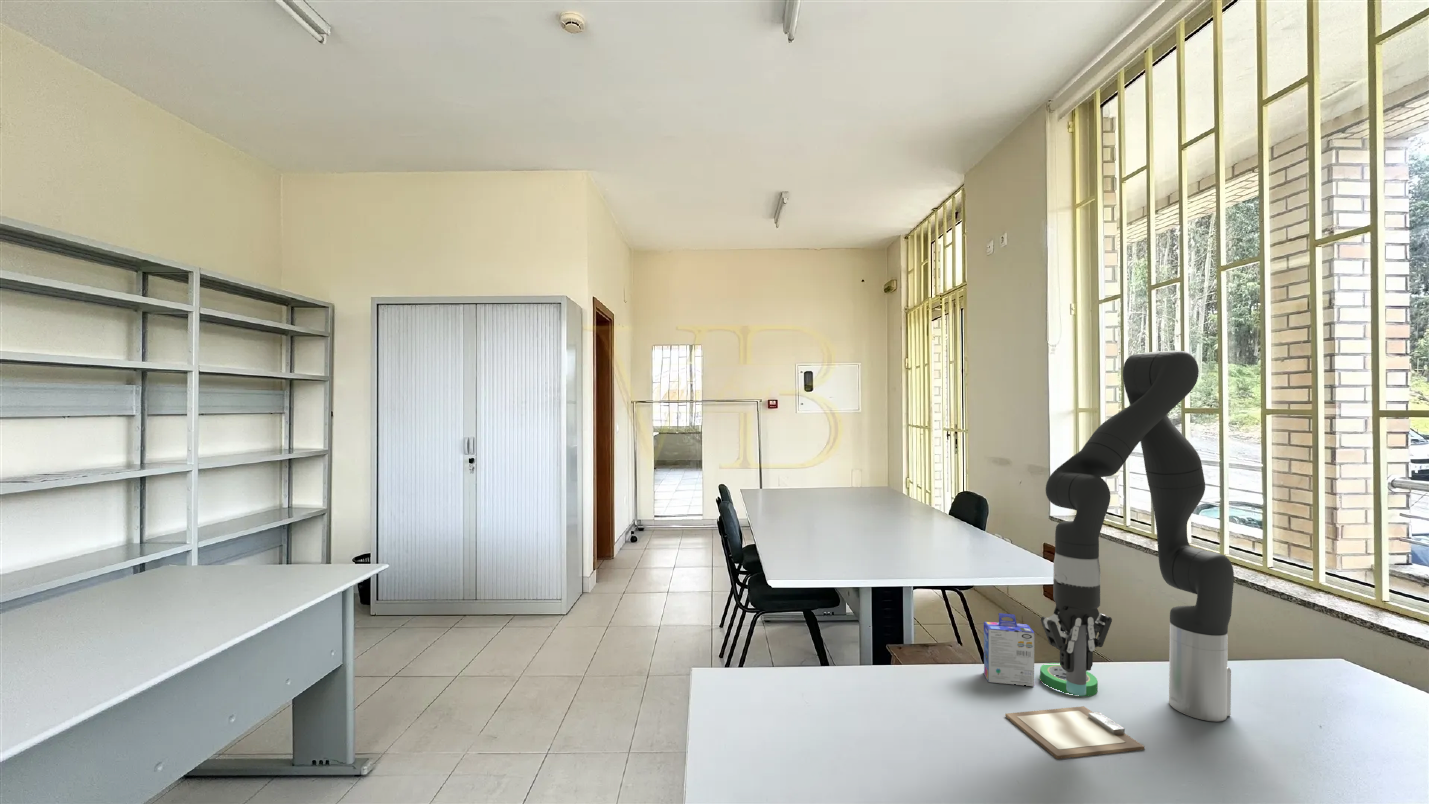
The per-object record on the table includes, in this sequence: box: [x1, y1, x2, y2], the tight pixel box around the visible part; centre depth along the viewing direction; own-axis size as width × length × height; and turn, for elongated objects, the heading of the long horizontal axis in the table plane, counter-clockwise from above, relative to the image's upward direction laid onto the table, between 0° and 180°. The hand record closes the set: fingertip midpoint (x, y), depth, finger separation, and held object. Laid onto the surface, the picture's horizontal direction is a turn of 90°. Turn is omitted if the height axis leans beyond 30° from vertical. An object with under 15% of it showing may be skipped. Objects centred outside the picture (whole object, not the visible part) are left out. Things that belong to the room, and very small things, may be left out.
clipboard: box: [1004, 705, 1145, 760], centre depth 112 cm, size 18×14×2 cm
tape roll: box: [1039, 662, 1099, 697], centre depth 131 cm, size 11×11×3 cm
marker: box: [1065, 625, 1086, 697], centre depth 110 cm, size 3×3×13 cm
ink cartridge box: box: [983, 612, 1035, 687], centre depth 133 cm, size 10×6×14 cm, turn 78°
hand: (1076, 669), depth 110 cm, fingers closed on marker, 3 cm apart
